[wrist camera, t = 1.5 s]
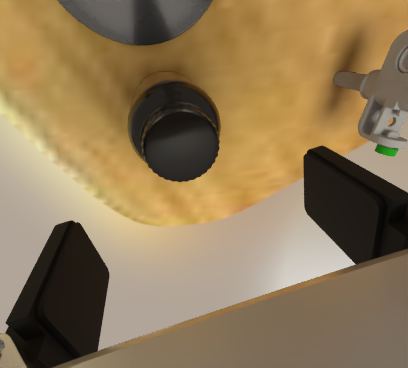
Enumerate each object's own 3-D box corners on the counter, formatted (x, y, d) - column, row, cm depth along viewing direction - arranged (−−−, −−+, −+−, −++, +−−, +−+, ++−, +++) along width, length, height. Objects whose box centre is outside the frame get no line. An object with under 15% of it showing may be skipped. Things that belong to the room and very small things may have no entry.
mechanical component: (312, 123, 30) (380, 156, 21) (347, 21, 25) (452, 10, 16) (334, 125, 30) (407, 158, 22) (371, 26, 26) (484, 18, 17)
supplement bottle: (213, 111, 27) (255, 155, 16) (163, 151, 28) (174, 215, 17) (171, 52, 23) (192, 62, 13) (116, 100, 24) (96, 143, 14)
